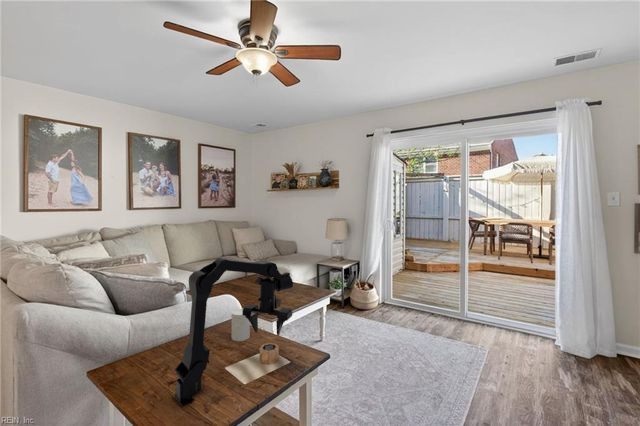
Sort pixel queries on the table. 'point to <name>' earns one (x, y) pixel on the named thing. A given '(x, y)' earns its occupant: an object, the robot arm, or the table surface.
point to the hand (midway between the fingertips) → (267, 333)
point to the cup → (240, 326)
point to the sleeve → (269, 354)
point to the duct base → (254, 367)
